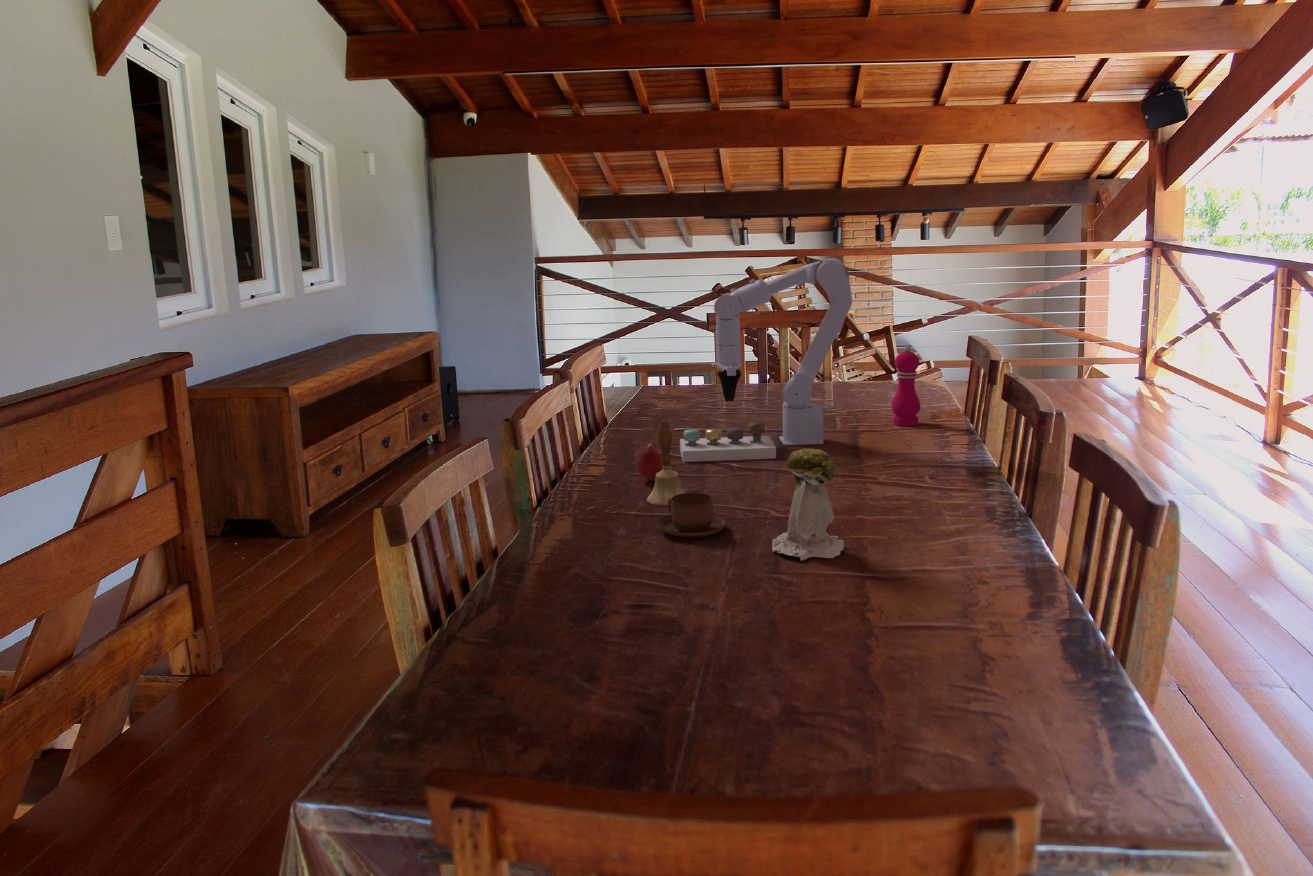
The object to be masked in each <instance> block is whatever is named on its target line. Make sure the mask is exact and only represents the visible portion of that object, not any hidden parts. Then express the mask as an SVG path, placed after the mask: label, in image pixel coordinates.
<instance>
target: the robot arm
mask: <svg viewBox="0 0 1313 876" xmlns="http://www.w3.org/2000/svg"><path fill="white" fill-rule="evenodd" d="M846 267H847V266H845V264H844V262H843V261H842V260H841V259H839V258H836V257H828V258H825V259H824V260H823V261H822V262H821V260H819V261H815V262H811V263H808V264H804V265H802V266H800V267H798V268H795V269H794V270H791V271H789V272H786V273H785V274H783V275H781V276H780V275H779V276H777V277H776V278H774V279H771V280H769V281H765V280H762V279H757V280H755V279H754V278H753V279H751V280H749V281H748V283H747V284H745V285H743V286H740V287H739V288H731V289H730V292H727V293H724V294H722V295H721V296H718V298H717V299H716V300H715V301H714V304H713V305H714V306H713V310H714V312H715V315H716V317H715V320H716V321H715V322H716V325H715V338H716V339H715V343H716V344H715V345H716V347H715V348H716V349H715V350H716V352H715V353H716V354H715V355H716V362H712V363H711V366H712V367H713V368H719V369H722V370H719V371H718V370H717V371H716V374H717V376H718V379H719V382H720V384H721V391H722V395H723V399H724V401H725V402H734V401H735V396H736V391H737V386H738V383H739V380H740V377H742V372H741V370H740V369H739V368H740V367H741V366H742V362H741V361H742V359H741V325H740V312H741V313H746V312H748V311H751V310H753V309H755V308H758V307H761V306H763V305H765V304H768V303H769V302H770V301H771V297H772V295H774V294H777V293H780V292H782V291H785V290H787V289H790V288H792V287H795V286H797V285H800V284H802V283H805V284H810V285H816V283H817V282H818V283H819V285H820V286H821V287H822V288H823V290H824V291H825V292H826V296H827V298H828V301H829V304H830V305H829V307H828V309H827V311H826V313H825V315H824V317H823V319H822V320H821V323H820V325H819V327H818V329H817V332H816V333H815V335H814V337H813V338H812V341H811V344H810V345H809V347H808V349H807V351H806V353H805V355H804V357H803V359H802V361H801V363H800V364H799V367H798V369H797V371H796V372H795V374H793V375H792V376H790V377H789V378H788V380H787V383H786V384H785V385H784V388H783V391H782V397H783V400H784V402H783V403H782V435H781V436H779V440H780V441H781V443H782V445H784V446H801V445H802V446H805V445H806V446H807V445H824V444H825V442H824V410H823V406H822V405H821V404H814V401H813V400H812V399H811V398H810V397H811V394H812V392H813V383H814V381H815V379H816V376H817V375H818V373H819V371H820V369H821V366H822V365H823V363H824V361H825V359H826V357H827V355H828V353H829V351H830V349H831V347H832V345H833V344H834V343H833V342H834V341H835V339H836V337H837V335H838V333H839V331H840V329H841V327H842V325H843V324H844V322H845V320H846V317H847V316H848V314H849V311H850V309H851V307H852V304H853V297H852V288H851V281H850V280H851V279H850V274H849V272H848V269H847V268H846Z"/></svg>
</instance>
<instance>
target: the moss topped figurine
mask: <svg viewBox="0 0 1313 876" xmlns="http://www.w3.org/2000/svg"><path fill="white" fill-rule="evenodd" d="M785 466H786V468H787V469H788V471H789V472H790V473H791V474H793V476H794V480H795V483H796V484H797V485H796V487H795V489H794V492H793V496H792V500H791V505H790V510H789V517H788V522H787V531H785V532H783V533H782V534H779V535H777V537H776V538H773V539H772V542H771V543H772V544H771V550H772V552H776V553H777V554H784V555H786V556H791V557H792V556H793V557H797V558H800V561H805V560H807V559H808V558H812V557H815V558H826V559H834V558H835V557H838V556H840V555H841V552H842V551H843V552H845V543H844V542H845V541H844V540H843V539H839V538H840V537H839V536H837V535H830V533H829V525H831V524H832V522H833V521H834V517H835V515H834V510H833V507H832V505H833V503H832V500H830V497H829V495H828V491H827V488H826V486H825V483H827V482H831V481H832V480H833V479H834V477H835V474H834V473H835V463H834V462H833V460H832V459H831V457H830V455H828V453H827V452H826V451H824V450H822V449H818V448H817V449H815V448H801V449H798V450H794V451H791V452H790V455H789V456H788V457H787V461H786V464H785ZM812 535H813V536H812Z"/></svg>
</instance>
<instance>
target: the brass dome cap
mask: <svg viewBox="0 0 1313 876" xmlns="http://www.w3.org/2000/svg"><path fill="white" fill-rule="evenodd" d="M721 437H722V429H721V428H707V429H705V438H706V440H710V445H718V440H720V439H721Z"/></svg>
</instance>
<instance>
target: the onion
mask: <svg viewBox="0 0 1313 876" xmlns="http://www.w3.org/2000/svg"><path fill="white" fill-rule="evenodd" d="M662 466H663V465H662V453H660V452H659V451H658V450H657V449H655V448H654V445H653V444H652V443H649V444H647V446H646V447H645V449H644V450H642V451H641V452H640V454H639V455H638V457H637V460H636V469H637V471H638V473H639V475H640V476H641V477H642V478H644V479H645V480H647V481H649V482H653V481H654V482H655V479H656V474H657V473H658V472H660V471H661V470H662V469H663V468H662Z"/></svg>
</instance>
